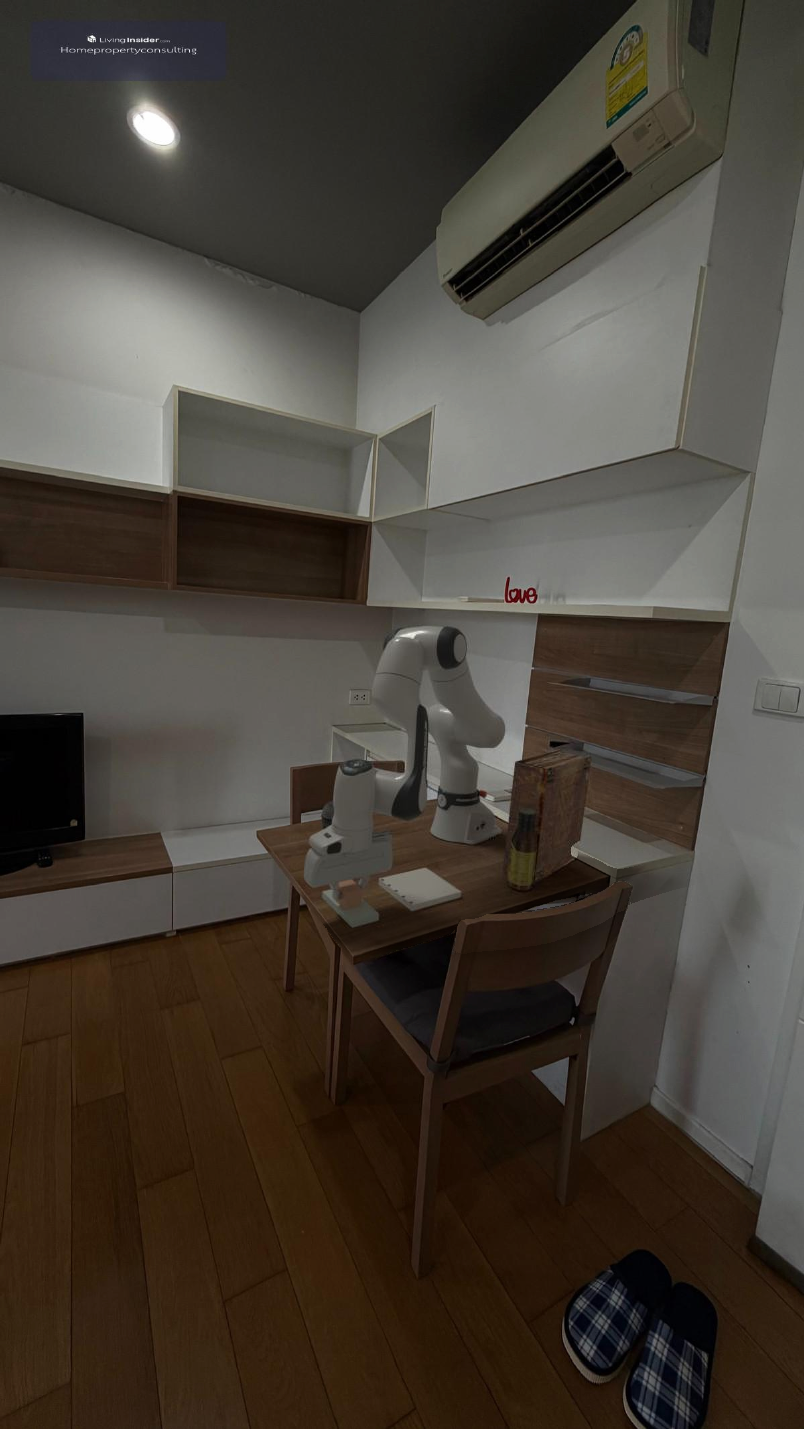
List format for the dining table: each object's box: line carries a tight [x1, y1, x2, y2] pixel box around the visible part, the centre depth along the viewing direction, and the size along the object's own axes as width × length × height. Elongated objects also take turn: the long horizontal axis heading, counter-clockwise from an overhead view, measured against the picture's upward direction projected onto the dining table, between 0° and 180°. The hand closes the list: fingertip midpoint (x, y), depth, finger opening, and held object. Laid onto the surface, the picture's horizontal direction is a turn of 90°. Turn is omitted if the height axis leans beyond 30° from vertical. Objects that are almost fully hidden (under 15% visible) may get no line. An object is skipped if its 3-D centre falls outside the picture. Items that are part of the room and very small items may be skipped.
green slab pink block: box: [321, 879, 380, 929], centre depth 125 cm, size 6×14×6 cm, turn 34°
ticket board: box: [378, 867, 462, 912], centre depth 136 cm, size 14×14×2 cm
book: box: [502, 748, 592, 886], centre depth 153 cm, size 25×9×30 cm, turn 138°
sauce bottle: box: [507, 808, 537, 892], centre depth 140 cm, size 6×6×20 cm
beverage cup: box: [320, 800, 334, 830], centre depth 149 cm, size 7×7×20 cm
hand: (348, 896), depth 125 cm, fingers closed on green slab pink block, 4 cm apart
